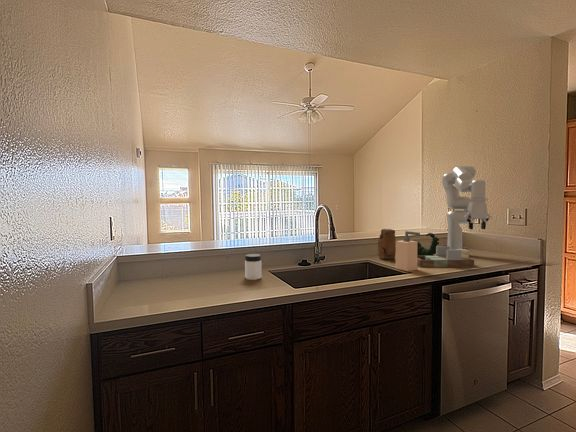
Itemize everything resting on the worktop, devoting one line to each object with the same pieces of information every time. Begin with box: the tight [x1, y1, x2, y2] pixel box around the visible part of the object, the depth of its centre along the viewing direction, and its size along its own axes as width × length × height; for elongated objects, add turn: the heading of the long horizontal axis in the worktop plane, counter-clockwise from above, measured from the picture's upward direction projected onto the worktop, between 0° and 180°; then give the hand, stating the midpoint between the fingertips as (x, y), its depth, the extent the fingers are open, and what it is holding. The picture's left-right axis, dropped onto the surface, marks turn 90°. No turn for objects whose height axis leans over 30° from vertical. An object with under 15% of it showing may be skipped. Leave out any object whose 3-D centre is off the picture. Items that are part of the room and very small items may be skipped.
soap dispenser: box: [394, 230, 421, 272], centre depth 184 cm, size 13×9×22 cm
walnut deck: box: [417, 254, 475, 268], centre depth 199 cm, size 15×32×4 cm, turn 90°
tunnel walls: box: [435, 245, 461, 260], centre depth 199 cm, size 15×8×6 cm, turn 0°
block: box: [377, 228, 397, 260], centre depth 217 cm, size 11×8×20 cm
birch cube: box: [457, 248, 470, 258], centre depth 199 cm, size 5×5×5 cm
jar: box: [244, 253, 263, 281], centre depth 168 cm, size 9×8×12 cm
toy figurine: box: [416, 232, 440, 256], centre depth 221 cm, size 9×19×25 cm
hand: (477, 229), depth 198 cm, fingers open, 6 cm apart
